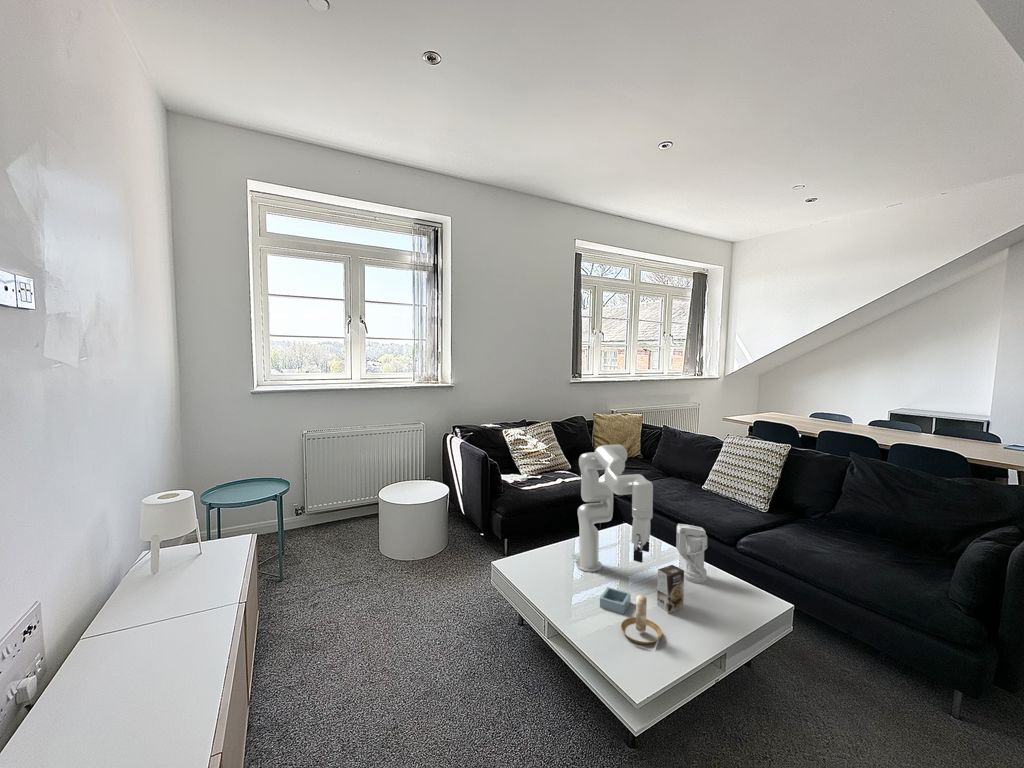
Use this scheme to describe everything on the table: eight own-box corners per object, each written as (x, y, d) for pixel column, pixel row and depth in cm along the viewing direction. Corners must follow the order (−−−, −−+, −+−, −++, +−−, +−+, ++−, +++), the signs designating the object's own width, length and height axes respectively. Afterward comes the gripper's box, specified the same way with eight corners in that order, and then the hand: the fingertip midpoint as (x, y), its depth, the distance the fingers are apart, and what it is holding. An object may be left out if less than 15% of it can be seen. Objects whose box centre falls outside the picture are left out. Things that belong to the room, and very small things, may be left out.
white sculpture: (702, 572, 202) (703, 522, 200) (709, 584, 191) (710, 531, 190) (674, 571, 203) (675, 521, 202) (680, 582, 193) (681, 530, 192)
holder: (599, 608, 173) (599, 598, 173) (607, 596, 182) (607, 586, 182) (623, 616, 168) (623, 605, 168) (630, 603, 177) (630, 593, 176)
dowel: (634, 629, 156) (635, 598, 155) (637, 624, 159) (638, 594, 158) (644, 633, 154) (645, 602, 153) (647, 627, 157) (647, 597, 156)
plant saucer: (634, 618, 167) (634, 612, 167) (669, 636, 156) (669, 629, 156) (613, 634, 157) (613, 627, 157) (648, 655, 146) (648, 647, 146)
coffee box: (668, 614, 169) (669, 575, 168) (656, 606, 175) (656, 568, 174) (684, 608, 173) (684, 570, 172) (671, 600, 179) (672, 563, 178)
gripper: (638, 504, 168) (637, 545, 169) (625, 518, 154) (625, 562, 155) (657, 507, 164) (656, 549, 165) (646, 522, 150) (645, 568, 151)
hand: (641, 556), depth 160 cm, fingers open, 9 cm apart
